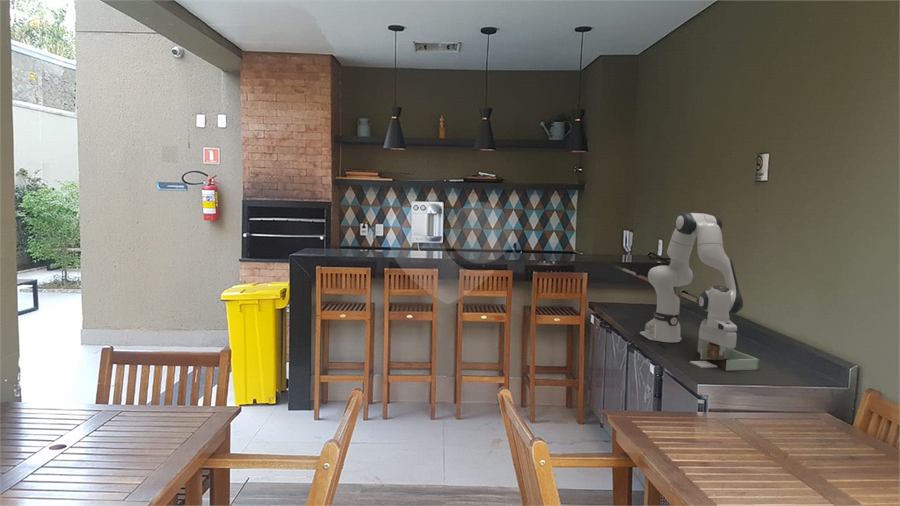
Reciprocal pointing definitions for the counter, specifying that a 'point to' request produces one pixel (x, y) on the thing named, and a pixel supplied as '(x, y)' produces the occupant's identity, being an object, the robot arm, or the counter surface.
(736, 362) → the pale green frame
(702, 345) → the can
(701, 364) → the coaster
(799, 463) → the counter surface
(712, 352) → the block
